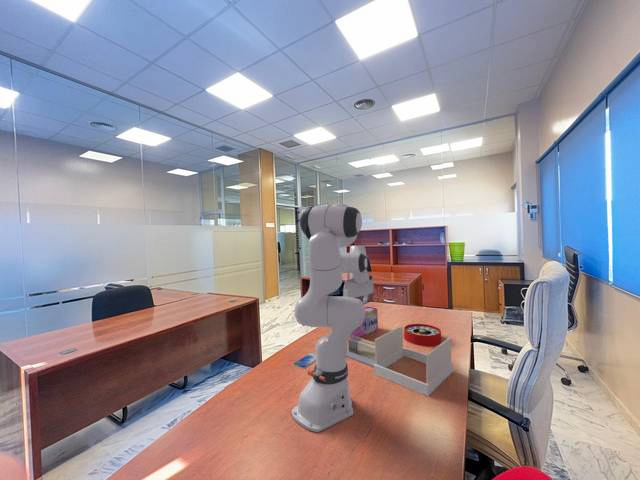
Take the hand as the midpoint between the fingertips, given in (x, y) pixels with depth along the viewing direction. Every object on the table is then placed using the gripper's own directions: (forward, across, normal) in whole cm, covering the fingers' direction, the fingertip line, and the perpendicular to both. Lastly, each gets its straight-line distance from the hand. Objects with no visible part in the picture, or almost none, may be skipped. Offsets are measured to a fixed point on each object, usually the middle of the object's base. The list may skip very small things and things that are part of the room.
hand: (359, 305), depth 134 cm
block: (+25, +3, -2) cm, 25 cm away
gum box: (+25, +27, +20) cm, 42 cm away
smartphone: (+27, -21, +16) cm, 38 cm away
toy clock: (+26, +42, -12) cm, 50 cm away
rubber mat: (+26, +3, -2) cm, 26 cm away
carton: (+26, +3, -26) cm, 37 cm away
